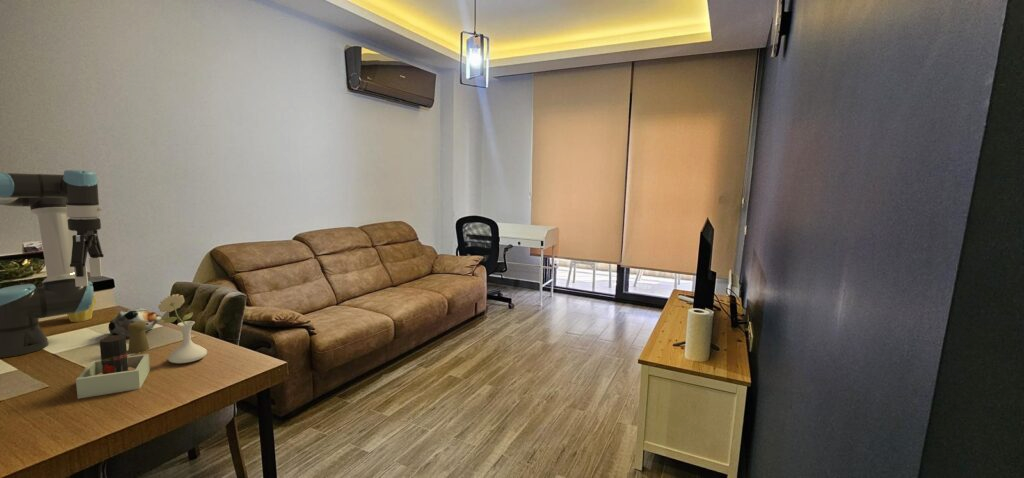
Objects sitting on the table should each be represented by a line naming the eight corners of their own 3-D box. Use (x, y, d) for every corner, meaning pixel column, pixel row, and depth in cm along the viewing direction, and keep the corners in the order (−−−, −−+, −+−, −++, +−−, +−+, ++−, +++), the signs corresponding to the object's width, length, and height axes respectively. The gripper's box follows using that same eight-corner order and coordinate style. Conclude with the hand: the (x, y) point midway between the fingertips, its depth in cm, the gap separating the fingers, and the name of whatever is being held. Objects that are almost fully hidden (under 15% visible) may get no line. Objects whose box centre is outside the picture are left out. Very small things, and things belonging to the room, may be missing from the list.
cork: (153, 347, 160) (151, 320, 159) (138, 354, 154) (136, 325, 153) (139, 346, 161) (137, 319, 159) (123, 352, 155) (121, 324, 153)
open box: (93, 378, 135) (92, 361, 134) (149, 370, 142) (148, 353, 142) (77, 398, 123) (75, 379, 123) (139, 388, 130) (138, 370, 130)
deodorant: (133, 381, 135) (130, 336, 133) (110, 389, 129) (106, 343, 127) (121, 377, 137) (118, 333, 135) (98, 385, 131) (94, 340, 129)
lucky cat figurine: (154, 325, 183) (165, 300, 180) (153, 343, 175) (164, 317, 172) (108, 322, 172) (118, 295, 169) (104, 342, 164) (115, 314, 161)
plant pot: (56, 322, 181) (54, 300, 179) (84, 315, 191) (82, 294, 189) (76, 324, 179) (74, 302, 178) (103, 317, 189) (101, 296, 188)
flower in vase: (204, 350, 160) (201, 287, 156) (210, 360, 152) (206, 294, 148) (160, 359, 151) (155, 292, 147) (163, 370, 143) (159, 300, 139)
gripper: (86, 222, 128) (92, 289, 131) (111, 214, 149) (115, 272, 152) (51, 222, 124) (58, 291, 127) (81, 213, 145) (86, 273, 148)
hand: (89, 281), depth 139 cm, fingers open, 13 cm apart
